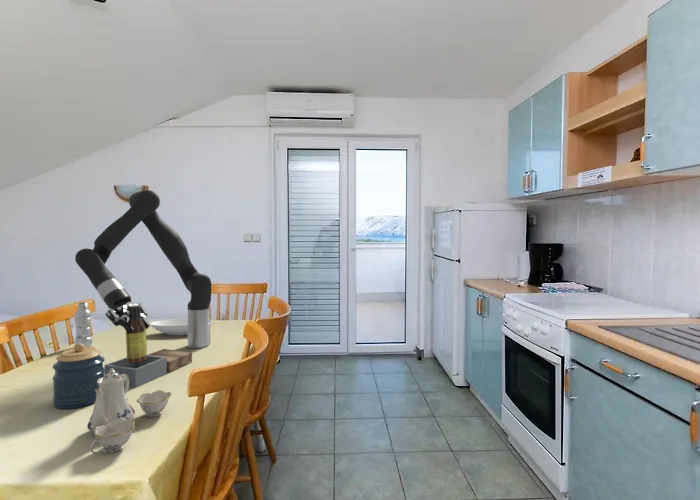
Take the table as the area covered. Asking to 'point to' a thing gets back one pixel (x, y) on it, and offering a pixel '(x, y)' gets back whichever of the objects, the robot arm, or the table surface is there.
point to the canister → (77, 377)
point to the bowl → (173, 326)
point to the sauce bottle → (136, 336)
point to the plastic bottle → (83, 325)
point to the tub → (139, 369)
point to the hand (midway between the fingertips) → (140, 329)
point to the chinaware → (119, 411)
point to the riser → (174, 358)
